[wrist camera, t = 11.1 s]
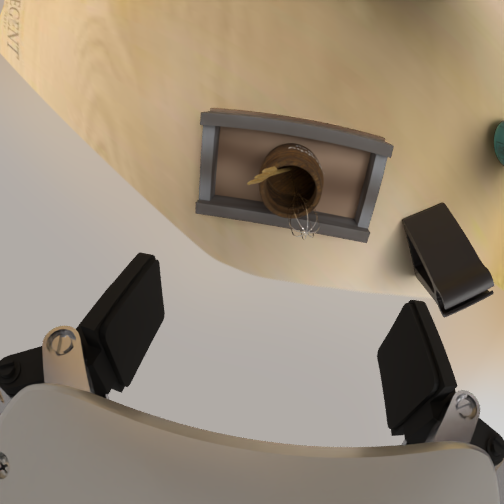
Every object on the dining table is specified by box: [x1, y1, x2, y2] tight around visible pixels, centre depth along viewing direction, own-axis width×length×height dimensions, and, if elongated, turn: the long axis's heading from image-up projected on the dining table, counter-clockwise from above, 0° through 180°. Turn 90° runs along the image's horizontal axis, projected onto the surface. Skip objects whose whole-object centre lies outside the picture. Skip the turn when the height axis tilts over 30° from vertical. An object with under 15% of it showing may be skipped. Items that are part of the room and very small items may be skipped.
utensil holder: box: [247, 143, 324, 240], centre depth 23 cm, size 6×6×12 cm
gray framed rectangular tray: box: [196, 108, 394, 243], centre depth 27 cm, size 11×18×4 cm, turn 84°
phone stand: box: [403, 203, 494, 317], centre depth 25 cm, size 9×6×12 cm, turn 28°
